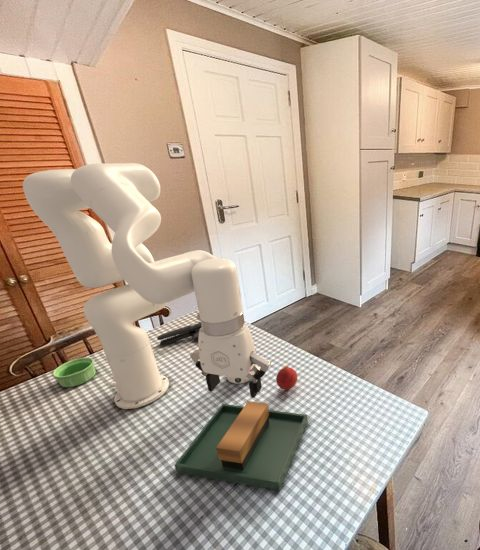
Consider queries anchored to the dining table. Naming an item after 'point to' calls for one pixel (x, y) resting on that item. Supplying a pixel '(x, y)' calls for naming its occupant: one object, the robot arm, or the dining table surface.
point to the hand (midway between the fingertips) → (235, 389)
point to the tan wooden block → (243, 435)
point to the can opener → (181, 334)
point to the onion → (286, 378)
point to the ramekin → (75, 372)
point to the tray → (264, 460)
